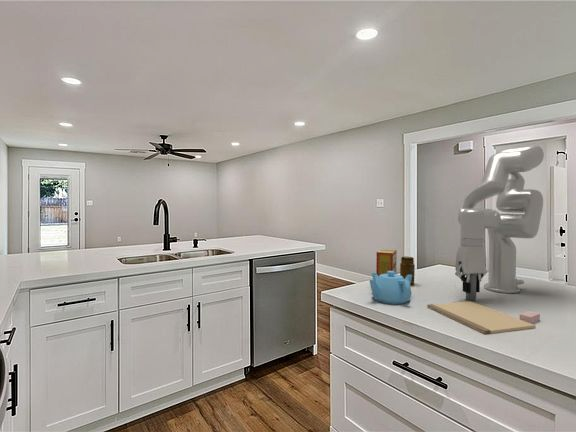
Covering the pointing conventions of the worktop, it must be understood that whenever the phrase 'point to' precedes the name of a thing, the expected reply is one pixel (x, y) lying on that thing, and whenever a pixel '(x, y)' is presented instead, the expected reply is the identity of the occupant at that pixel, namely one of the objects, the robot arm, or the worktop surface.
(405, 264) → the condiment
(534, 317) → the eraser
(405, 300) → the teapot
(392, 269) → the baking soda box
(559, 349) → the worktop surface
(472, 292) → the marker
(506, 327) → the notepad
